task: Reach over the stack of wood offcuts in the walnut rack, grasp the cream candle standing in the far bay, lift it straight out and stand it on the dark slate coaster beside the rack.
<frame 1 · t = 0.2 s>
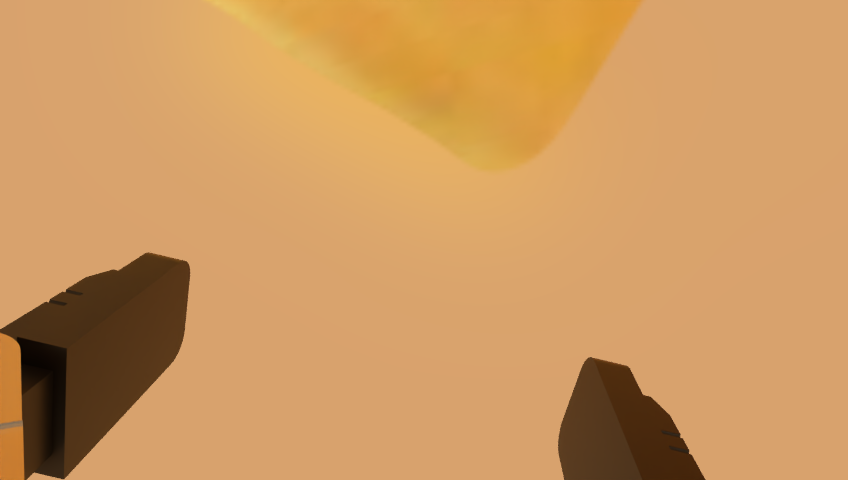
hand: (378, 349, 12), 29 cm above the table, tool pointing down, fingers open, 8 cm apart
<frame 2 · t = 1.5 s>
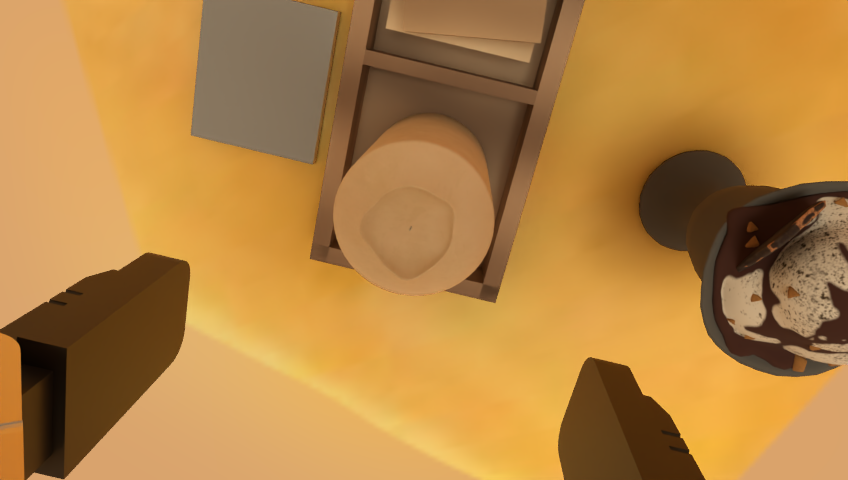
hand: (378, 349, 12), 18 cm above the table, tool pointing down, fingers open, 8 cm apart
coaster: (265, 75, 27), on the table
sundae: (691, 200, 28), on the table
rack: (446, 96, 27), on the table
candle: (429, 169, 28), resting on rack
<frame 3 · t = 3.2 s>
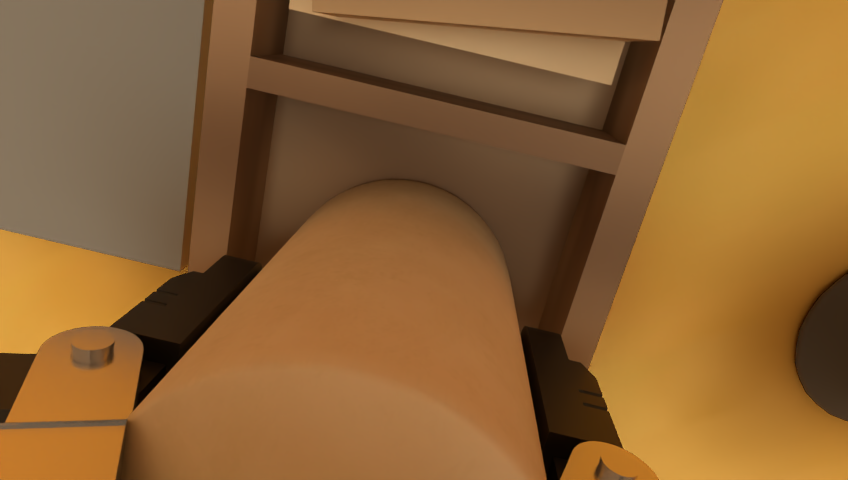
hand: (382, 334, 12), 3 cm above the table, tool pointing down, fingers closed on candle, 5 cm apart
coaster: (83, 104, 14), on the table
rack: (431, 145, 14), on the table
candle: (399, 279, 15), resting on rack, touching gripper
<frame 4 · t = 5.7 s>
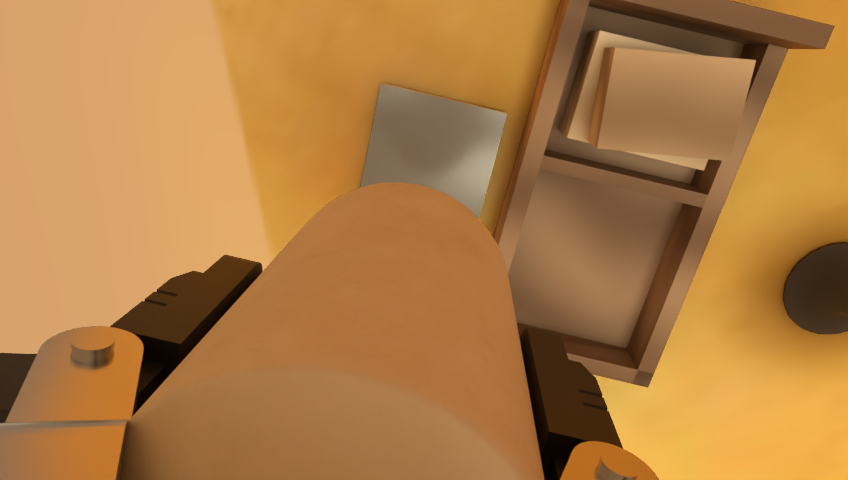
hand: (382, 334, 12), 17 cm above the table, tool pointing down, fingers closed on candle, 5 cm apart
offcut upper: (659, 101, 24), point 3 cm above the table, touching offcut lower
offcut lower: (637, 97, 26), resting on rack, touching offcut upper
coaster: (427, 168, 28), on the table
sundae: (833, 287, 29), on the table
rack: (603, 190, 28), on the table
candle: (399, 282, 15), point 14 cm above the table, touching gripper
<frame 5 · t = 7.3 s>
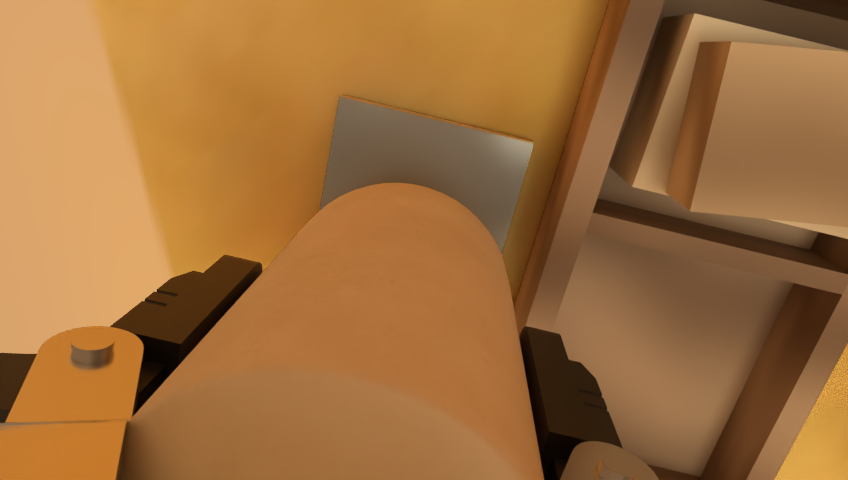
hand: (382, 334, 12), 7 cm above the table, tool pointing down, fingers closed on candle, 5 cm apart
offcut upper: (786, 130, 15), point 3 cm above the table, touching offcut lower
offcut lower: (735, 120, 17), resting on rack, touching offcut upper
coaster: (413, 222, 19), on the table
rack: (675, 255, 19), on the table
candle: (399, 282, 15), point 5 cm above the table, touching gripper
when the fingers open (4 cm above the table, at t = 8.5 s): candle drops 1 cm, resting on coaster.
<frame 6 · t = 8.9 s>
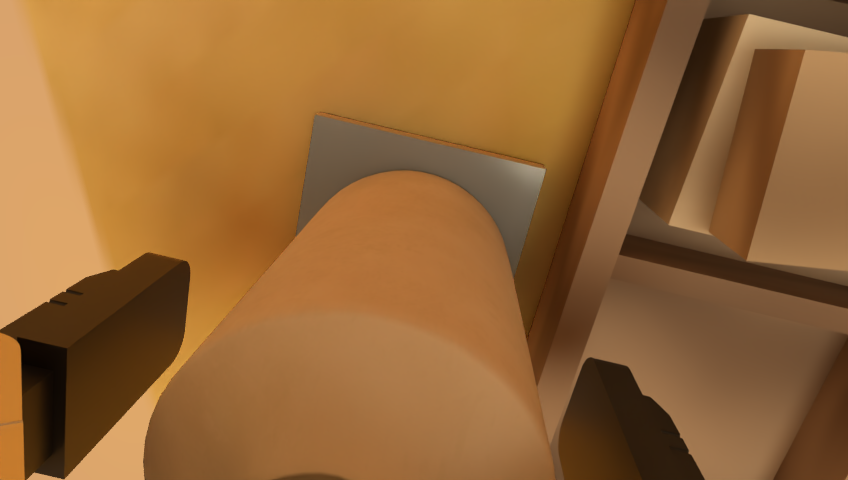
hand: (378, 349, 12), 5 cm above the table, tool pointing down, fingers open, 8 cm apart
offcut lower: (786, 141, 14), resting on rack, touching offcut upper
coaster: (404, 259, 16), on the table
rack: (710, 297, 16), on the table
candle: (406, 264, 16), resting on coaster
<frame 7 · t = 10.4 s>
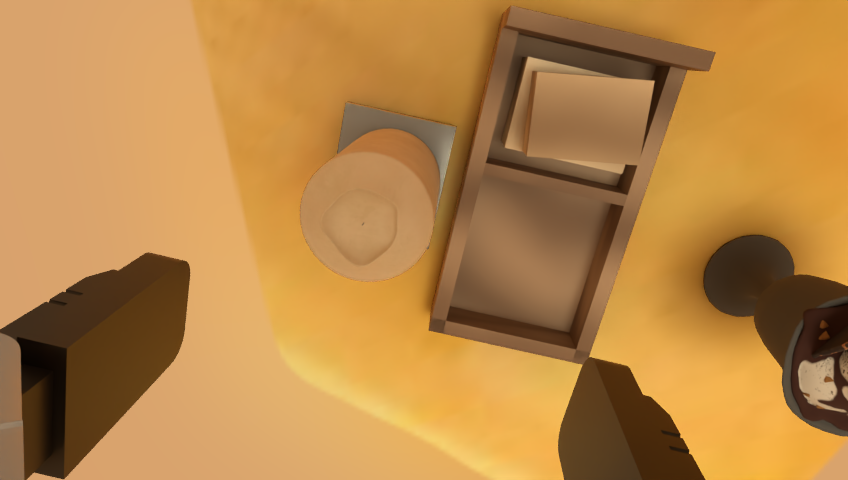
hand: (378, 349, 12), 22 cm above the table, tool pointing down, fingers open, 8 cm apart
offcut upper: (581, 115, 28), point 3 cm above the table, touching offcut lower
offcut lower: (567, 112, 30), resting on rack, touching offcut upper
coaster: (389, 176, 32), on the table
sundae: (747, 274, 33), on the table
rack: (542, 192, 32), on the table
candle: (390, 177, 32), resting on coaster
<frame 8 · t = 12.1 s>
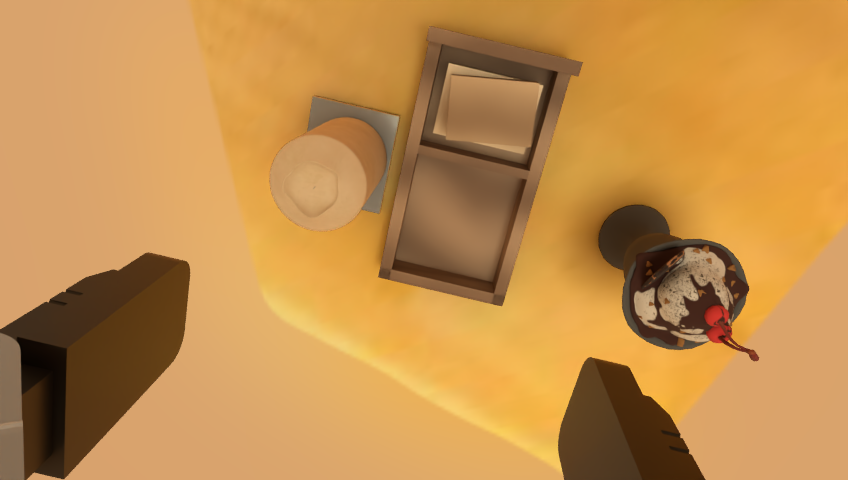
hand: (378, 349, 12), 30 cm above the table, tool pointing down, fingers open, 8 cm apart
offcut upper: (490, 108, 37), point 3 cm above the table, touching offcut lower
offcut lower: (485, 105, 39), resting on rack, touching offcut upper
coaster: (348, 155, 41), on the table
sundae: (633, 237, 42), on the table
rack: (469, 169, 41), on the table
candle: (349, 155, 41), resting on coaster
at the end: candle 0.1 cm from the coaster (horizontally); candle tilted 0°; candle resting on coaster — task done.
